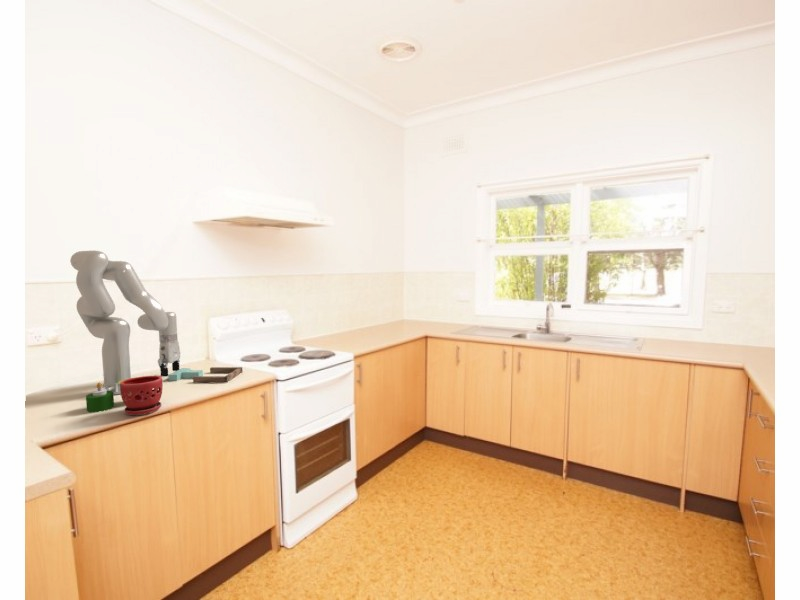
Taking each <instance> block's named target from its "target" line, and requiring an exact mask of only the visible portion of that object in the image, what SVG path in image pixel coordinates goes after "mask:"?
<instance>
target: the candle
mask: <svg viewBox="0 0 800 600" xmlns="http://www.w3.org/2000/svg"><path fill="white" fill-rule="evenodd" d="M102 387H103V384H102V383H101V382H100V381H99V382H97V384H96V389H95V390H93V391H92V392H91V393H88V394H87V395H85V402H86V403H85V404H86V412H87V411H88V413H99V411H101V412H105V411H108V409H109V410H111V409H114V407H115V400H114V396H115V395H113V391H107V390H106V389H101V388H102ZM97 389H98V390H97ZM104 410H105V411H104Z"/></svg>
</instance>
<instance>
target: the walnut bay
mask: <svg viewBox="0 0 800 600" xmlns="http://www.w3.org/2000/svg"><path fill="white" fill-rule="evenodd" d="M209 370H210V371H209V373H210V374H226V375H225V376H222V375H221V376H216V375H215V376H214V375H213V376H210V375H209V376H206V375H205V376H204V375H203V376H195V377H193V379H192V383H193V382H227V383H229V382H230V381H232V380H233V379H234V378H236V377H237V376H239V375H240V373H241V374H242V373H243V367H242V366H240V367H239V366H238V367H237V366H236V367H235V366H233V367H231V366H230V367H229V366H228V367H227V366H226V367H225V366H224V367H223V366H219V367H215V366H214V367H212V366H211V367H210V368H209ZM228 381H229V382H228Z"/></svg>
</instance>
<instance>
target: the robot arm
mask: <svg viewBox="0 0 800 600" xmlns="http://www.w3.org/2000/svg"><path fill="white" fill-rule="evenodd" d="M69 260H70V261H69V262H70V264H71V266H72V268H73V269H74V270H76V271H77V274H76V277H75V283H76V286H77V289H78V291H79V293H80V295H81V296H79V298H78V300H77V301H76V312H77V314H78V315H79V317H80V318H81V320H82V322H83V324H84V325H85V327H86V329H87V330H88V332H89V333H90V334H91V335H92V336H93V337H95V338H97V339H103V343H102V347H101V359H102V372H103V373H102V376H103V383H102V386H101V389H106V390H107V391H113V396H117V395H121V391H120V385H119V384H118V382H119V381H121V380H124V379H129V378H132V376H131V375H132V374H131V373H132V372H131V358H130V357H131V356H130V336H131V326H130V323H129V322H128V321H127V320H126V319H123V318H121V317H113V316H112V315H113V314H114V313H115V310H116V305H115V302H114V300H113V299H112V297H111V295H110V293H109V291H108V290H107V288H106V286H105V283H104V280H107V281H110V282H113V281H114V282H115V284H116V286H117V287H118V289H119V290H120V292H121V294H122V296H123V297H124V299H125V300H126V301H127V302H128V303H130V304H132V305H134V306H136V307H137V308H139V309H140V310H142V312H143V313H144V314H141V315H140V316H139V317H138V318H137V325H138V327H140V329H142V330H146V331H156V332H157V331H158V340H159V351H158V352H159V354H158V355H159V356H158V360H157V364H158V367H159V369H160V377H168V375H169V368H168V365H169V364H171V368H172V372H175V371H177V370H179V369H180V359H181V350H180V345H179V339H178V325H177V324H178V323H177V314H176V313H175V312H174V311H165V310H164V308H163V306H162V305H161V304H160V302H159V301H158V300H157V299H155V298H154V297H153V296H152V295H151V294H150V293H149V292H148V291H147V290H146V288H145V287H144V285H143V283H142V281H141V279H140V277H139V276H138V274H137V272H136V270H135V269H134V267H133V266H132V264H131V263H130V262H127V261H122V260H120V261H119V260H109V257H108V255H107V254H106V253H104V252H102V251H100V250H81V251H76V252H75V253H73V254H72V255H71V257H70V259H69ZM96 390H98V388H96Z"/></svg>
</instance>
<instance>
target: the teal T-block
mask: <svg viewBox="0 0 800 600" xmlns="http://www.w3.org/2000/svg"><path fill="white" fill-rule="evenodd" d="M203 371H204V370H203V369H194V370H193V369H192V370H191V368H190V367H182V368H179V370H177V371H172V372H171V373H168V376H167V377H168V382H178V381H180V380H182V379H181V378H193V377H195V376H204V373H203ZM179 379H180V380H179ZM177 380H178V381H177Z"/></svg>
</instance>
